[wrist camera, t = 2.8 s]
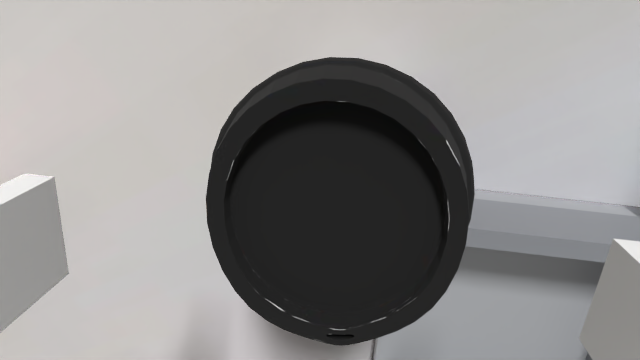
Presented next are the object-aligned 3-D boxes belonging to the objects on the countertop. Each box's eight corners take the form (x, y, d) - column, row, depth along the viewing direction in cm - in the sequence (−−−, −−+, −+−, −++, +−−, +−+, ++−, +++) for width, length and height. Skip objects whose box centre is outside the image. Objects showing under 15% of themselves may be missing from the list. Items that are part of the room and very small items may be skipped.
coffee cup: (291, 181, 28) (208, 350, 14) (276, 40, 25) (153, 78, 11) (429, 177, 27) (486, 356, 13) (430, 28, 24) (504, 54, 10)
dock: (398, 181, 27) (403, 220, 22) (641, 207, 26) (705, 255, 21) (372, 362, 32) (371, 428, 27) (574, 391, 31) (613, 466, 26)
